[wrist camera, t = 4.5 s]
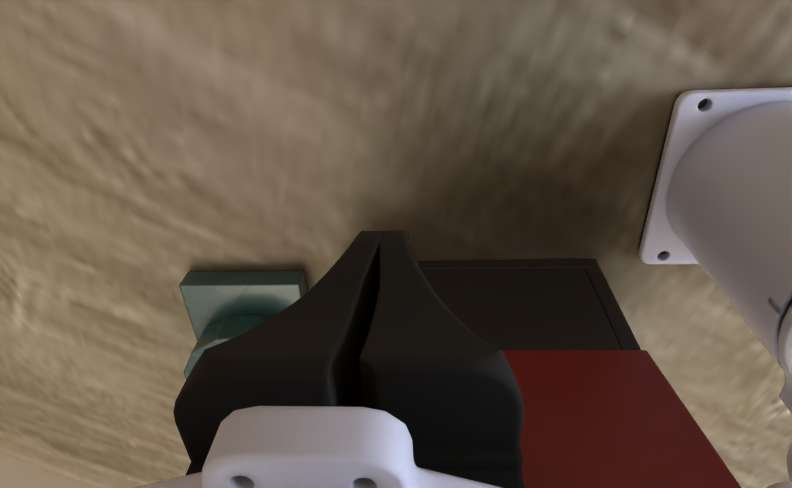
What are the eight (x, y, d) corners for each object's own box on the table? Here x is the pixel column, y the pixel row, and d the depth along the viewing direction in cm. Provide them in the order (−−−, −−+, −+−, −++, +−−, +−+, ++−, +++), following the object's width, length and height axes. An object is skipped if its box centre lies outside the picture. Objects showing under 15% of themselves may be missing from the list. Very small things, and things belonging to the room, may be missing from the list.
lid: (894, 748, 9) (907, 725, 9) (197, 715, 10) (191, 693, 10) (644, 365, 19) (646, 349, 19) (315, 364, 20) (314, 349, 20)
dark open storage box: (567, 406, 30) (597, 508, 25) (356, 405, 31) (342, 503, 26) (596, 258, 25) (641, 349, 20) (338, 261, 26) (316, 349, 20)
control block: (307, 269, 26) (294, 308, 23) (329, 406, 31) (321, 449, 29) (184, 270, 26) (159, 308, 24) (227, 405, 32) (210, 447, 29)
